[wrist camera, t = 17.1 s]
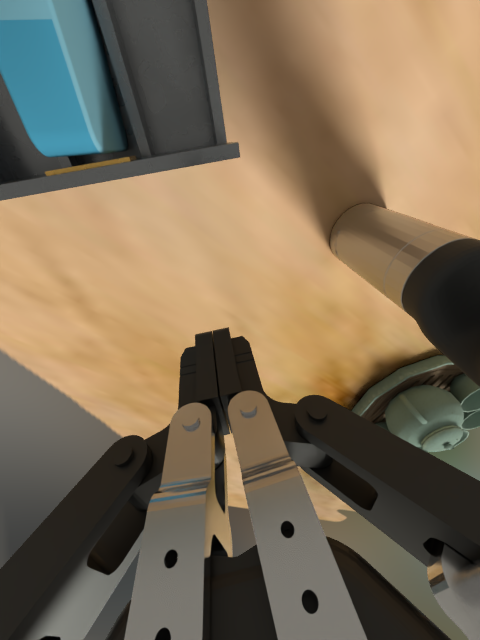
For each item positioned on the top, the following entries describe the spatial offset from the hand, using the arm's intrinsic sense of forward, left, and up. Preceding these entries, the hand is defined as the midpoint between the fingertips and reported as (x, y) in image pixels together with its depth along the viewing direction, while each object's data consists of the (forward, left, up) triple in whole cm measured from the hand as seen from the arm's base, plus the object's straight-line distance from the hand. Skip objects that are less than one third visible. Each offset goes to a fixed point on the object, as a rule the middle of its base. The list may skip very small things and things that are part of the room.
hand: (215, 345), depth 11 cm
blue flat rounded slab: (+8, -14, -28) cm, 32 cm away
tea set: (-49, +63, -30) cm, 85 cm away
